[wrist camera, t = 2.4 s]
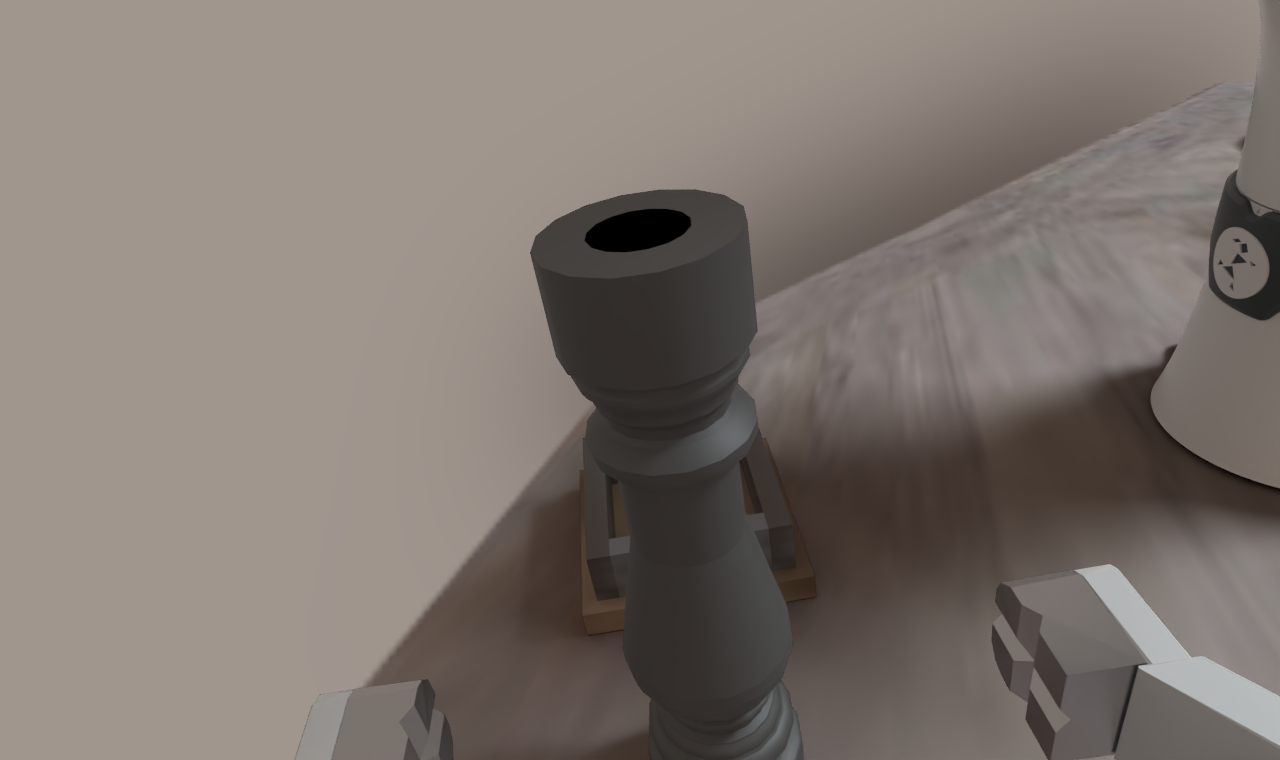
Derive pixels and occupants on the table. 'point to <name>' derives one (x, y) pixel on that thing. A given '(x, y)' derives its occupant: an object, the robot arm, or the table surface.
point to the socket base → (611, 538)
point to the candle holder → (677, 458)
